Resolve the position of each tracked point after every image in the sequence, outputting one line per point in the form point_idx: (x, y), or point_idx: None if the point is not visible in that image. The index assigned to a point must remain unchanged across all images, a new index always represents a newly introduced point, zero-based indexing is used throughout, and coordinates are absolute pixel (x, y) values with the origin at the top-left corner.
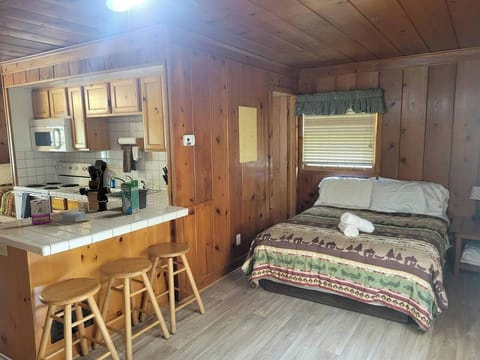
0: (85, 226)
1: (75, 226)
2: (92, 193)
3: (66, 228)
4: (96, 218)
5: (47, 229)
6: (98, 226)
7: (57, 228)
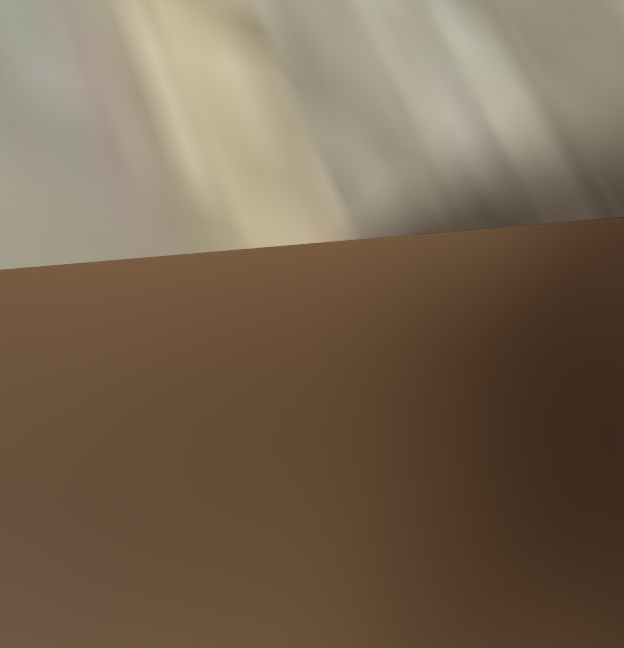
0: (211, 56)
1: (349, 88)
2: (302, 245)
3: (414, 20)
4: None
5: (598, 32)
6: (13, 10)
7: (517, 47)
